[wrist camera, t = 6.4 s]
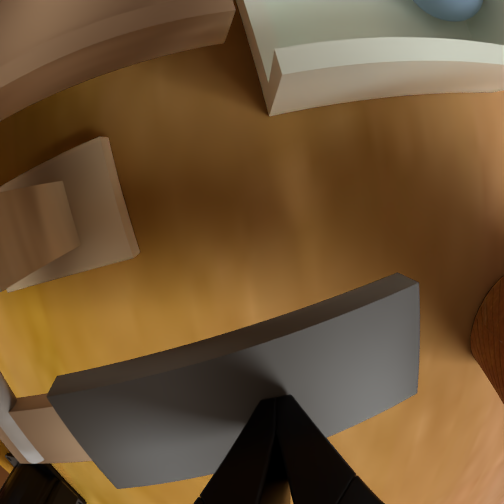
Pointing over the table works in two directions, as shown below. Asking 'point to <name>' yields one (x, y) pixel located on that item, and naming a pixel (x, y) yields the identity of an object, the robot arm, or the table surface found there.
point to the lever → (205, 351)
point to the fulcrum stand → (64, 218)
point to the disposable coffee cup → (491, 337)
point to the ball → (450, 8)
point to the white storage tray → (368, 51)
